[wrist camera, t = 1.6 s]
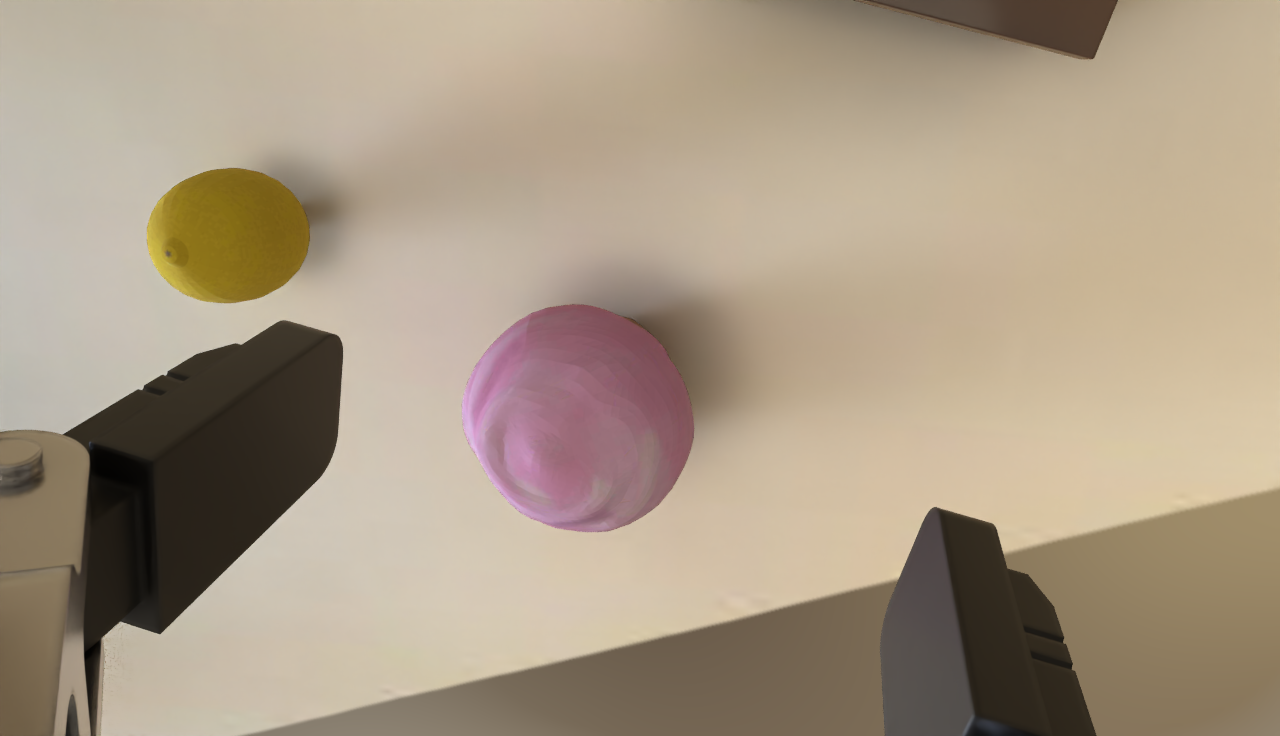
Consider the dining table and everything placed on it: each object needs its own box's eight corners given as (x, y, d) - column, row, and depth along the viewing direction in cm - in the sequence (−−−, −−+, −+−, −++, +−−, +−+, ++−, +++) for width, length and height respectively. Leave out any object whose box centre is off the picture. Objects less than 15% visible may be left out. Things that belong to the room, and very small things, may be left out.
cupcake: (487, 338, 42) (386, 418, 32) (636, 232, 39) (570, 287, 29) (601, 489, 43) (534, 607, 34) (753, 398, 40) (725, 501, 31)
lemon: (353, 185, 41) (243, 214, 33) (328, 295, 43) (220, 345, 35) (244, 140, 41) (112, 159, 34) (225, 252, 43) (97, 292, 36)
